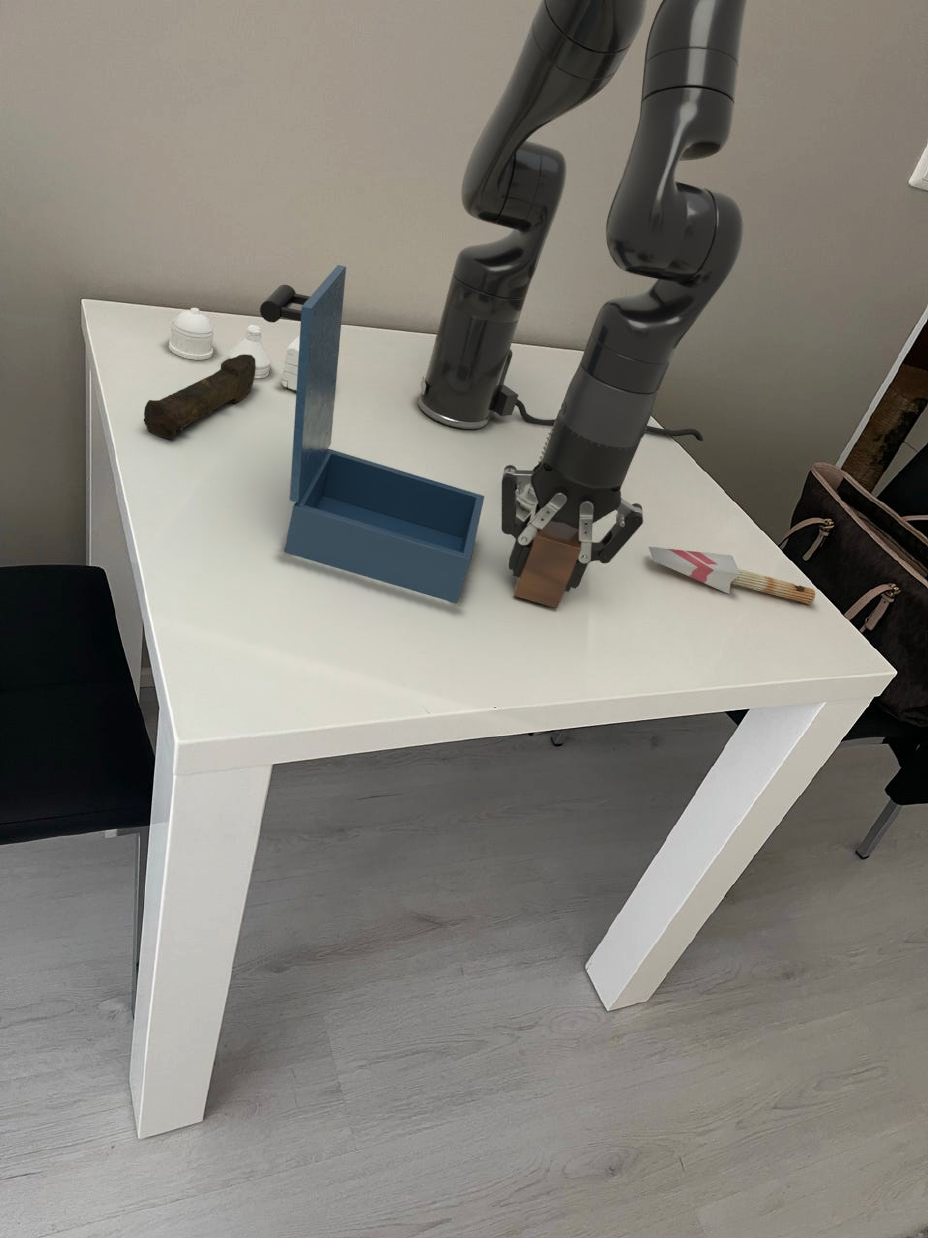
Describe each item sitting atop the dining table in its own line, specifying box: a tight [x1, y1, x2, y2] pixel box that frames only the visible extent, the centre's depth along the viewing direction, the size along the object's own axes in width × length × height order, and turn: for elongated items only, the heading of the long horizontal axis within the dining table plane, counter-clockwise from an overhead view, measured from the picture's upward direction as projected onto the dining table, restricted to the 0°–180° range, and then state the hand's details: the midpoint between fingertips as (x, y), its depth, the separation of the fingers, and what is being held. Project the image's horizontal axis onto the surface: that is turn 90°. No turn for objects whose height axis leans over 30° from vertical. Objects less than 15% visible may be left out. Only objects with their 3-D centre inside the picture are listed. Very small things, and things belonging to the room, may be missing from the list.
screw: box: [516, 409, 560, 513], centre depth 106 cm, size 13×5×5 cm
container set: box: [168, 307, 300, 391], centre depth 117 cm, size 20×5×6 cm, turn 80°
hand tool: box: [143, 354, 256, 439], centre depth 106 cm, size 19×4×5 cm, turn 156°
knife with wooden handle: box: [648, 546, 816, 605], centre depth 108 cm, size 4×3×20 cm
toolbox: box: [284, 448, 485, 604], centre depth 93 cm, size 17×13×6 cm
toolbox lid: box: [259, 264, 347, 503], centre depth 86 cm, size 18×13×5 cm
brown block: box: [513, 521, 581, 609], centre depth 92 cm, size 4×4×7 cm
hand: (540, 579), depth 93 cm, fingers closed on brown block, 4 cm apart
